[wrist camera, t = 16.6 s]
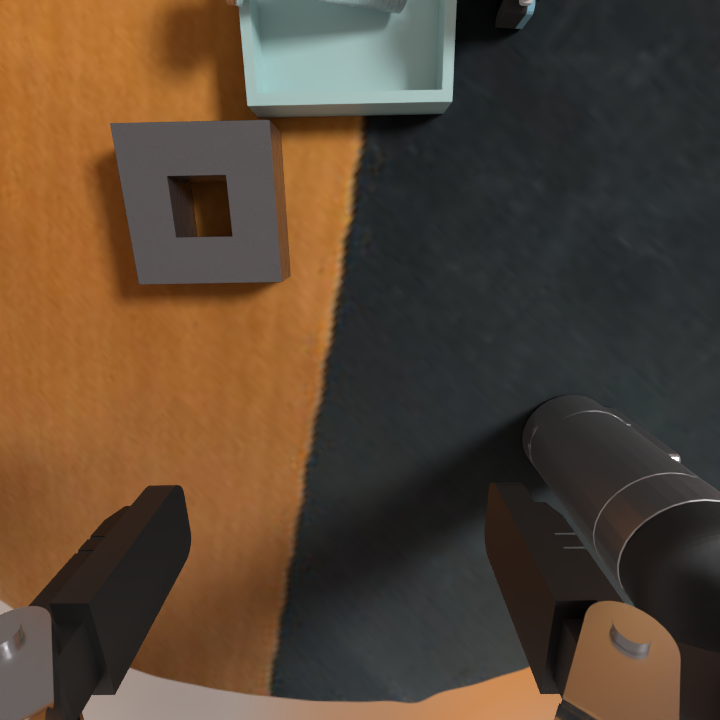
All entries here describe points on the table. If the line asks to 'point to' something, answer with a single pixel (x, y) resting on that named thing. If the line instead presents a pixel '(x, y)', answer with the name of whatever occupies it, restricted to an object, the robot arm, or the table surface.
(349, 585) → the table surface
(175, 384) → the table surface
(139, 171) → the hitch block
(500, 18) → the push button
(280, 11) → the tray
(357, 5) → the steel pin
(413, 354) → the table surface
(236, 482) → the table surface
